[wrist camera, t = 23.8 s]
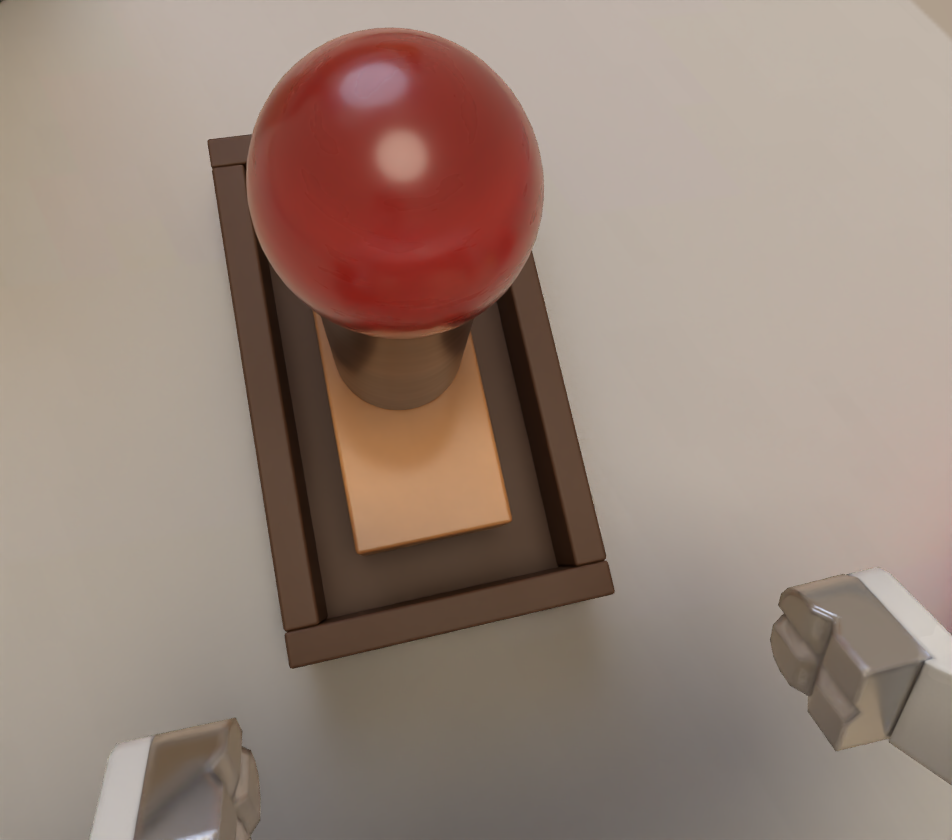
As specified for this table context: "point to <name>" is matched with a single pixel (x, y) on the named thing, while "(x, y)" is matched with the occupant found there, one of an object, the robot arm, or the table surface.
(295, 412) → the stamp tray
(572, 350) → the table surface
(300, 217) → the stamp
